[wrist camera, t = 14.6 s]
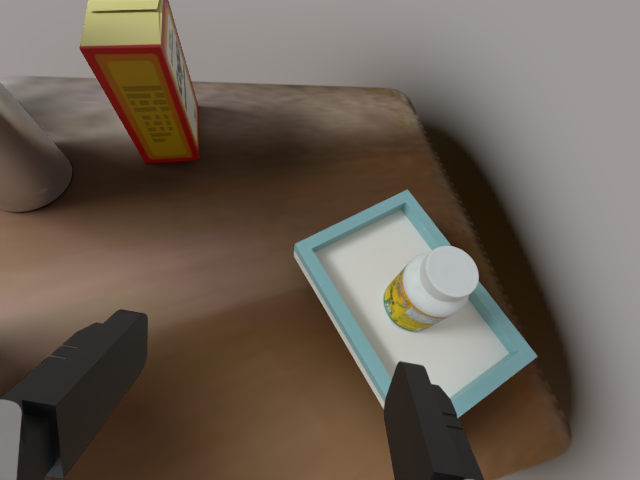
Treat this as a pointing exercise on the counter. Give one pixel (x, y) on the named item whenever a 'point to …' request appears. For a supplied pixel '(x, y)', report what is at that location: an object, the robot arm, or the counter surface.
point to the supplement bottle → (430, 288)
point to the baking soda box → (144, 75)
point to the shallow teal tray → (372, 322)
